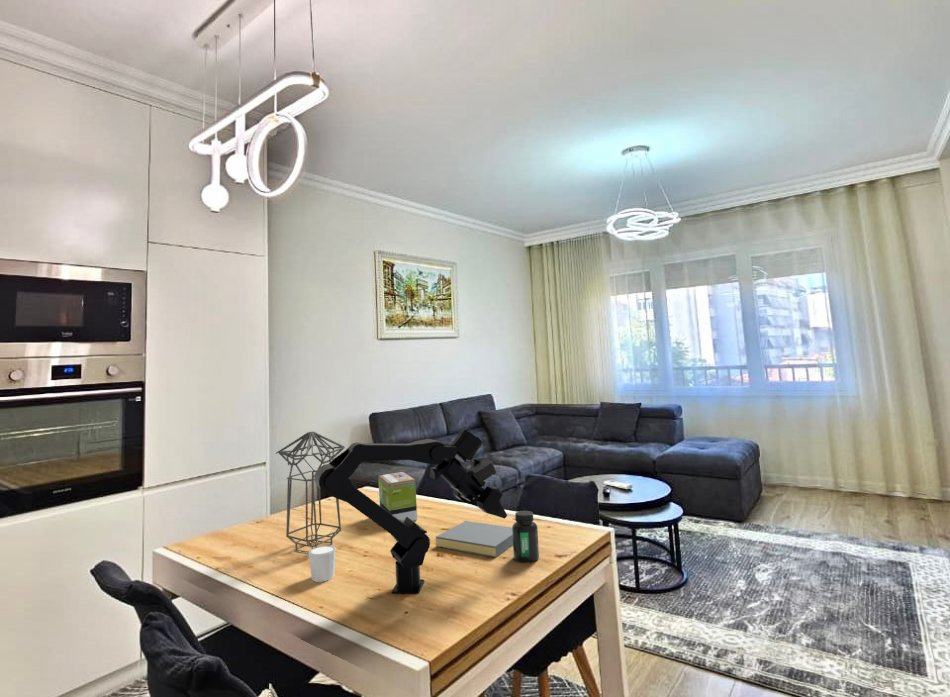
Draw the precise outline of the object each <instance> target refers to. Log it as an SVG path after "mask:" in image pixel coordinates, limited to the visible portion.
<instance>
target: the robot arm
mask: <svg viewBox="0 0 950 697" xmlns="http://www.w3.org/2000/svg"><path fill="white" fill-rule="evenodd" d="M483 445H484V442H483V441H482V439H480V437H478V436H476V435H475V434H473V433H472V432H470V431H469V430H468V429H467V428H461V429H460V431H459V432H458V434H457V436H456V437H455V438H454V440H453V441H452V442H451V443H450V444H449V443H445V442H444V443H443V442H441V441H438V440H436V439H435V440H434V439H432V438H426V439H425V438H424V439H420V440H415V441H413V442H412V441H411V442H407V443H377V442H375V443H365V442H364V443H362V442H358V441H357V442H353V443H351V444H350V445H349V446H348V447H347V448H345V450H343V452H342V451H341V452H340V453H339V454H338V455H337V456H336V457H334V458H333V460H331V462H328V463H325V464H322V465H321V467H320V468H319V467H317V471H316V472H314V475H315V476H314V479H315V480H314V483H315V485H316V486H317V488H318V487H319V488H320V491H322V492H323V493H324V494H326V495H328V496H331V497H333V498H334V499H336V498H337V499H339V501H342V502H345V503H348V504H349V505H350V506H352V507H353V508H354V509H356V510H358V512H360V513H361V514H363V515H364V516H366V517H367V518H368V519H369V520H371V521H372V522H373V523H375V524H376V525H378V526H379V527H381V529H383V530H385V532H387V533H388V534H390V536H392V538H393V539H394V540H395V541H396V542H395V543H394V545H393V546H392V548H391V549H390V554H391V557H392V558H393V559H394V560H395V579H396V580H395V581H396V582H395V585H394V587H393V588H392V590H391V593H392V594H419V593H420V592H421V590H422V587H423V585H424V584H425V579H421V570H420V569H421V568H420V566H423V563H424V561H425V556H426V553H427V552H428V551H429V549H430V547H431V546H430V544H431V543H430V542H431V541H430V540H431V539H430V537H429V536H428V535H427V533H428V531H427V530H426V529H425V528H424V527H422V526H420V525H419V524H417V523H416V522H415V521H412V520H411V519H409V518H408V517H406V518H405V520H404V521H401V520H399V519H397V518H396V517H394V516H393V515H392V514H390V513H389V512H387V511H386V510H385V509H383V508H382V507H381V506H380V504H378V503H377V502H375V501H374V500H373V499H372V498H370V497H369V496H368V495H366V494H365V493H363V492H362V491H361V490H359V489H358V488H357V486H356V485H354V483H353V482H352V480H351V479H350V478H351V476H352V475H353V474H354V473H355V471H356V470H357V469H358V467H359V466H360V464H362V463H363V462H364V461H414V462H417V463H422V464H428V465H432V466H434V467H430V468H429V469H430V474H429V477H430V478H432V479H433V480H435V481H438V480H439V478H440V477H441V478H442V479H444V480H445V481H446V482H447V483H448V484H449V487H450V488H452V495H453V496H454V497H455V498H456V499H458V500H460V501H461V502H463V503H466V504H469V505H471V506H474V507H477V508H479V510H481V511H482V512H484V513H485V514H489V515H492V516H496V517H497V518H498V517H499V518H501V519H504V520H505V519H506V518H507V517H508V514H507V512H506V510H505V508H504V506H503V505H502V503H501V498H502V497H503V496H504V495H503V494H504V492H503V491H502V490H501V489H499V487H495V486H493V485H487V486H486V487H485V488H484V486H485V485H486V480H487V479H488V478H490V477H492V476H493V475H496V474H497V472H498V471H497V470H496V467H495V465H494V462H493V461H492V460H489V459H481V460H480V459H478V458H474V457H475V456H476V454H477V453H478V452H479V450H480V449H481V448H482V447H483ZM460 461H461V462H462V463H465V462H470V468H469V469H468V468H466V467H465V465H464V464H462V463H461V462H460Z"/></svg>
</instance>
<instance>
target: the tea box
mask: <svg viewBox="0 0 950 697" xmlns="http://www.w3.org/2000/svg"><path fill="white" fill-rule="evenodd" d="M377 478H378V479H377V480H378V493H379V494H378V496H379V500H378V501H379V506H381V507H382V508H383V509H385V510H386V511H387V512H389V513H390V514H392V515H393V516H394V517H396V518H397V519H399V520H401V521H404V520H405V518H406V517H408V518H409V519H411V520H412V521H414V522H415V521H418V507H417V506H418V505H417V488H416V485H417V484H416V478H413V477H412V476H410V475H409V474H407V473H405V472H404V471H400V472H393V473H392V472H391V473H388V474H387V473H386V474H382V475H381V474H380V475H378V476H377Z"/></svg>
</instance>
